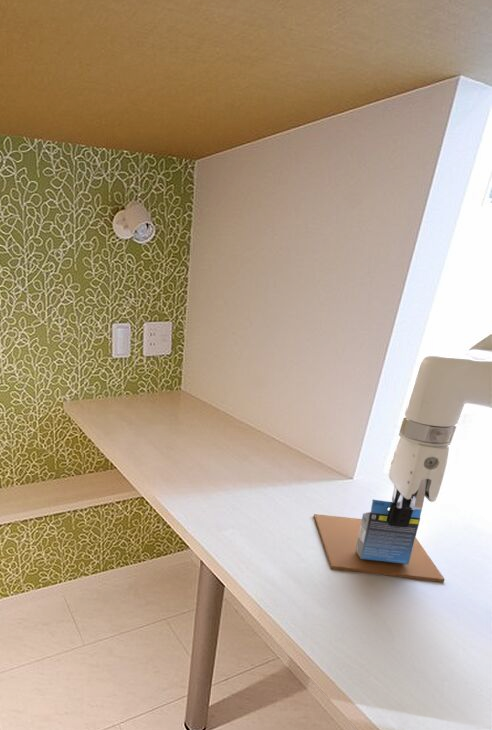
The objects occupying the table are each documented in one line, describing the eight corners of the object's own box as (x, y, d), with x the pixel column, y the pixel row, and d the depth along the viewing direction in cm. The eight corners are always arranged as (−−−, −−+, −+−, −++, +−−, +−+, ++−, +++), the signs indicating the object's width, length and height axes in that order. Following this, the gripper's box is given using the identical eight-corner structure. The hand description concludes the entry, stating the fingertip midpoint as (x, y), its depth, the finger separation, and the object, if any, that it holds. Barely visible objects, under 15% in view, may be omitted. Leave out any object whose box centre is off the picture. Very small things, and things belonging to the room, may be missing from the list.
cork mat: (405, 525, 99) (406, 523, 98) (443, 582, 81) (444, 579, 80) (313, 516, 102) (314, 513, 101) (331, 568, 84) (331, 565, 84)
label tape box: (401, 557, 87) (415, 498, 83) (409, 566, 83) (424, 505, 80) (354, 551, 88) (366, 493, 85) (360, 559, 84) (372, 499, 81)
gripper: (474, 448, 65) (435, 550, 73) (432, 418, 78) (403, 506, 86) (419, 444, 66) (388, 545, 74) (387, 415, 79) (363, 503, 87)
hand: (396, 524), depth 80 cm, fingers closed
